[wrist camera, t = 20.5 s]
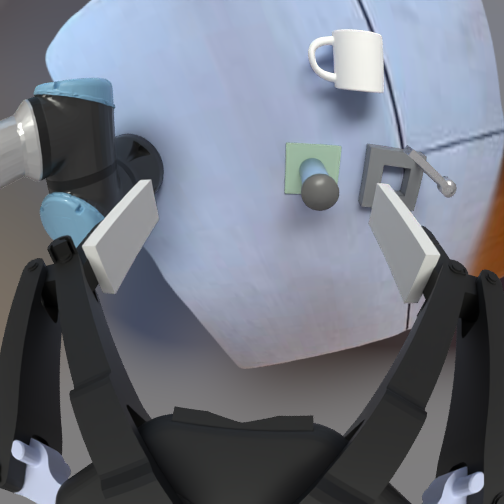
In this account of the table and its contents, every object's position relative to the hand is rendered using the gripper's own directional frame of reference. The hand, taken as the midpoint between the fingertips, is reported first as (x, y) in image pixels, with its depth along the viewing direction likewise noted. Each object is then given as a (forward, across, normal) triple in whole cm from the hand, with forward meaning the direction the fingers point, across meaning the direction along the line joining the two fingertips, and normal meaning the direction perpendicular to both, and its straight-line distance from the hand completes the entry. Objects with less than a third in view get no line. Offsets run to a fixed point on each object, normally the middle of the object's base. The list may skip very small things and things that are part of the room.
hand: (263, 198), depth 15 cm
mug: (+35, +12, +10) cm, 38 cm away
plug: (+34, +8, -11) cm, 37 cm away
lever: (+23, +25, -4) cm, 34 cm away
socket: (+35, +24, -11) cm, 44 cm away
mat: (+35, +8, -11) cm, 37 cm away
